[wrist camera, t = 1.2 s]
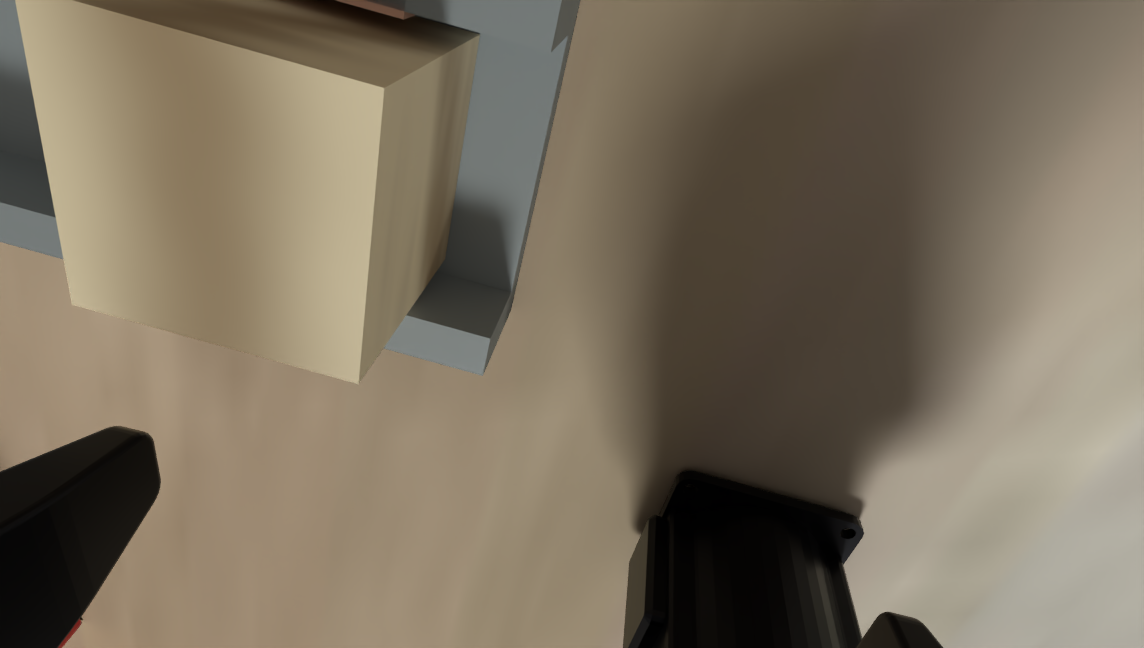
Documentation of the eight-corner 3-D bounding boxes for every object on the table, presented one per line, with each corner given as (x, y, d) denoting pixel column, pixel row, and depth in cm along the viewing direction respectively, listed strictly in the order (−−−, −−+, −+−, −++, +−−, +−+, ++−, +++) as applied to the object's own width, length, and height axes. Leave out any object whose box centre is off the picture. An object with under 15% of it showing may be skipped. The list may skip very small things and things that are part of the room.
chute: (586, -25, 16) (564, -13, 13) (510, 310, 21) (482, 375, 18) (-252, -263, 15) (-474, -308, 12) (-126, 133, 20) (-263, 168, 17)
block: (479, 34, 16) (384, 87, 11) (445, 258, 19) (358, 384, 14) (230, -37, 16) (11, -17, 10) (237, 201, 19) (72, 304, 14)
